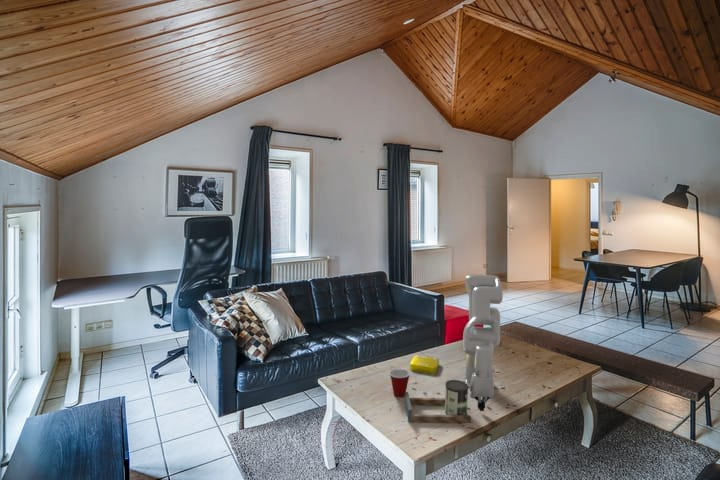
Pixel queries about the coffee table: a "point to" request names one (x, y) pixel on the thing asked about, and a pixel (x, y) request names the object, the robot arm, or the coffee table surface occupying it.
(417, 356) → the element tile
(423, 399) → the frame
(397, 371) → the plastic cup
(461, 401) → the coffee can
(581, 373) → the coffee table surface
